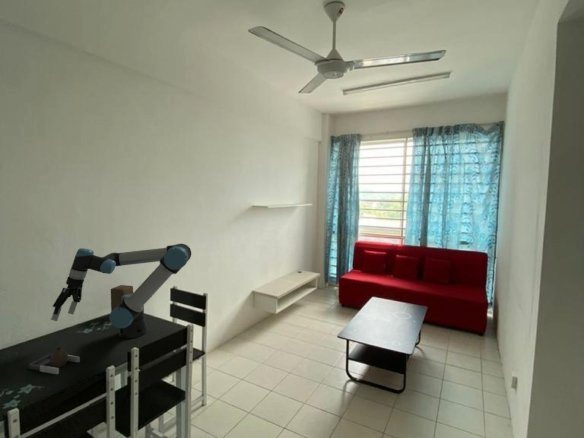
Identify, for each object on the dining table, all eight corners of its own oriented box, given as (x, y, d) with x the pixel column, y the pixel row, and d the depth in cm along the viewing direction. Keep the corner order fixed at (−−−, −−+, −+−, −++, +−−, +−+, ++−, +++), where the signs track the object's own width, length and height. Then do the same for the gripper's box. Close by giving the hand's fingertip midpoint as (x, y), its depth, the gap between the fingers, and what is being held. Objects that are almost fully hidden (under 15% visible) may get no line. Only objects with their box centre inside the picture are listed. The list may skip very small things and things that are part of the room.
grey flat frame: (28, 368, 148) (28, 364, 148) (51, 357, 159) (50, 353, 159) (40, 370, 147) (40, 366, 147) (62, 359, 157) (62, 355, 157)
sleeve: (39, 371, 146) (39, 366, 146) (63, 358, 158) (63, 354, 157) (57, 374, 144) (57, 369, 144) (79, 361, 155) (79, 356, 155)
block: (123, 319, 208) (123, 289, 207) (110, 318, 210) (109, 288, 209) (134, 314, 218) (133, 285, 216) (121, 312, 220) (120, 284, 218)
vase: (65, 360, 156) (64, 343, 155) (70, 365, 151) (69, 348, 151) (48, 366, 151) (47, 348, 150) (52, 371, 146) (51, 353, 146)
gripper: (83, 272, 180) (70, 309, 178) (53, 278, 155) (38, 321, 153) (96, 276, 180) (83, 313, 179) (68, 282, 156) (54, 325, 154)
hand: (62, 316), depth 166 cm, fingers open, 13 cm apart
